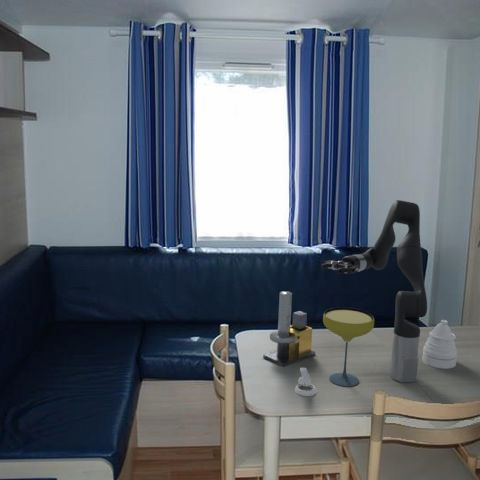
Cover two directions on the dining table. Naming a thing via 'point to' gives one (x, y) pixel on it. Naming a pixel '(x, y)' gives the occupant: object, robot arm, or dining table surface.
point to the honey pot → (440, 347)
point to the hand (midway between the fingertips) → (329, 269)
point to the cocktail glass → (347, 334)
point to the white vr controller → (305, 384)
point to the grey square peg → (299, 320)
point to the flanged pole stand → (289, 337)
